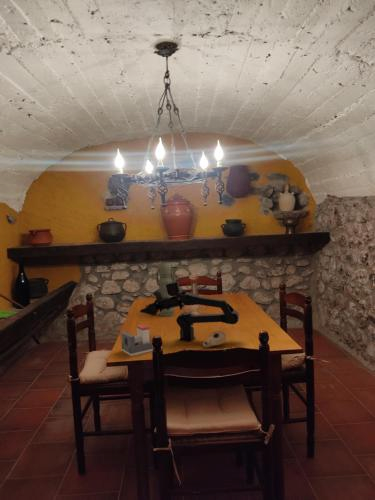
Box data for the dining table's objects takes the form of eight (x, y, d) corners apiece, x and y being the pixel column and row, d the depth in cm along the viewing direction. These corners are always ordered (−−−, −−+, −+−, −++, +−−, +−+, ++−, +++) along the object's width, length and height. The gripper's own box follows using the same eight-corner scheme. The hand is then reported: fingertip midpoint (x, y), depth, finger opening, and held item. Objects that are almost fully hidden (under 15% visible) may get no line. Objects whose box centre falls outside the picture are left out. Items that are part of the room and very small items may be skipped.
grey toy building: (146, 343, 209) (145, 327, 209) (156, 348, 201) (155, 331, 200) (122, 348, 202) (121, 332, 201) (131, 353, 194) (130, 337, 193)
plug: (144, 344, 206) (143, 324, 206) (149, 347, 201) (148, 326, 201) (126, 348, 201) (126, 327, 200) (132, 351, 196) (131, 330, 195)
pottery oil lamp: (199, 345, 207) (199, 331, 206) (221, 342, 210) (221, 328, 210) (205, 350, 198) (205, 335, 198) (228, 347, 202) (228, 332, 202)
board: (146, 345, 209) (146, 343, 209) (156, 350, 201) (156, 348, 201) (122, 350, 202) (122, 348, 202) (131, 356, 194) (131, 353, 194)
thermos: (157, 314, 276) (155, 261, 273) (175, 313, 277) (173, 261, 274) (158, 317, 267) (156, 263, 264) (176, 316, 268) (174, 262, 266)
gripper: (170, 285, 226) (144, 291, 230) (161, 291, 208) (133, 298, 212) (176, 304, 227) (149, 310, 230) (167, 312, 208) (138, 319, 212)
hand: (143, 309), depth 221 cm, fingers open, 9 cm apart
